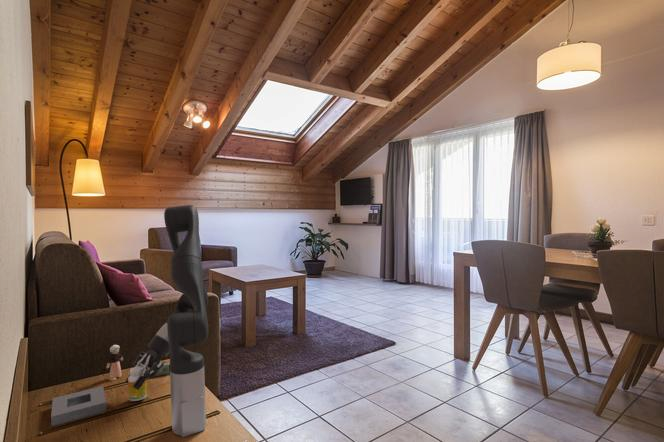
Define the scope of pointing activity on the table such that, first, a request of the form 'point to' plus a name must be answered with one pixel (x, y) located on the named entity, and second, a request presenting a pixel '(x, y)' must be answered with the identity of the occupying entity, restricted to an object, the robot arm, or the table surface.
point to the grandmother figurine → (114, 363)
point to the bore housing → (78, 406)
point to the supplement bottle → (134, 375)
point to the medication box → (163, 370)
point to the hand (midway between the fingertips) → (131, 385)
